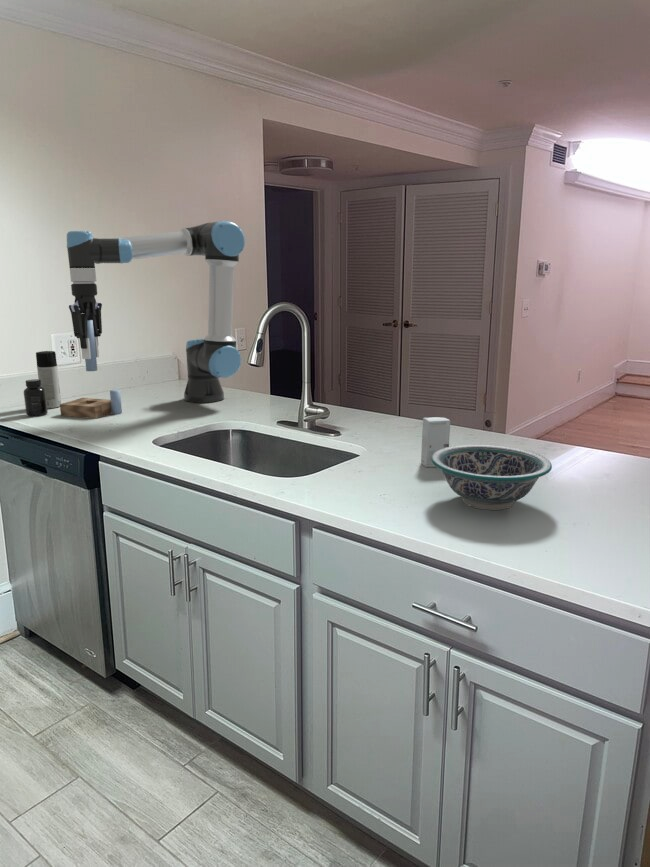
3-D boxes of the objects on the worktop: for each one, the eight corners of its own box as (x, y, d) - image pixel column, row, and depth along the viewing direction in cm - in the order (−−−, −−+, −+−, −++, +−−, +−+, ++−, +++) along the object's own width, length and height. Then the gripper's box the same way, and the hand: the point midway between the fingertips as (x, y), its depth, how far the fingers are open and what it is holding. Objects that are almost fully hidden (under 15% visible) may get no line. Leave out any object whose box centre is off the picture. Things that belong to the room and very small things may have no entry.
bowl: (495, 533, 125) (498, 486, 123) (405, 497, 144) (407, 455, 142) (572, 506, 139) (576, 463, 137) (481, 476, 159) (484, 438, 156)
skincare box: (426, 467, 166) (428, 421, 163) (420, 462, 170) (421, 417, 167) (449, 466, 167) (451, 420, 164) (442, 461, 171) (444, 416, 168)
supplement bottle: (51, 412, 227) (48, 378, 224) (41, 417, 221) (37, 382, 218) (32, 412, 228) (29, 378, 225) (22, 416, 222) (18, 381, 219)
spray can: (65, 406, 238) (59, 351, 233) (48, 409, 232) (42, 353, 227) (53, 404, 241) (48, 350, 236) (37, 407, 236) (31, 352, 231)
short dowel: (123, 412, 228) (122, 390, 226) (118, 414, 224) (116, 391, 222) (115, 412, 229) (113, 389, 227) (109, 414, 225) (107, 391, 223)
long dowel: (99, 369, 211) (95, 320, 207) (93, 371, 208) (88, 320, 204) (90, 369, 212) (85, 319, 208) (84, 371, 209) (79, 320, 205)
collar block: (117, 411, 230) (116, 400, 229) (95, 418, 219) (94, 406, 218) (83, 408, 234) (82, 397, 233) (60, 415, 223) (59, 404, 222)
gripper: (90, 282, 212) (96, 354, 218) (55, 283, 197) (63, 361, 203) (109, 282, 210) (116, 355, 215) (76, 283, 194) (84, 361, 200)
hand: (90, 357), depth 209 cm, fingers closed on long dowel, 3 cm apart
